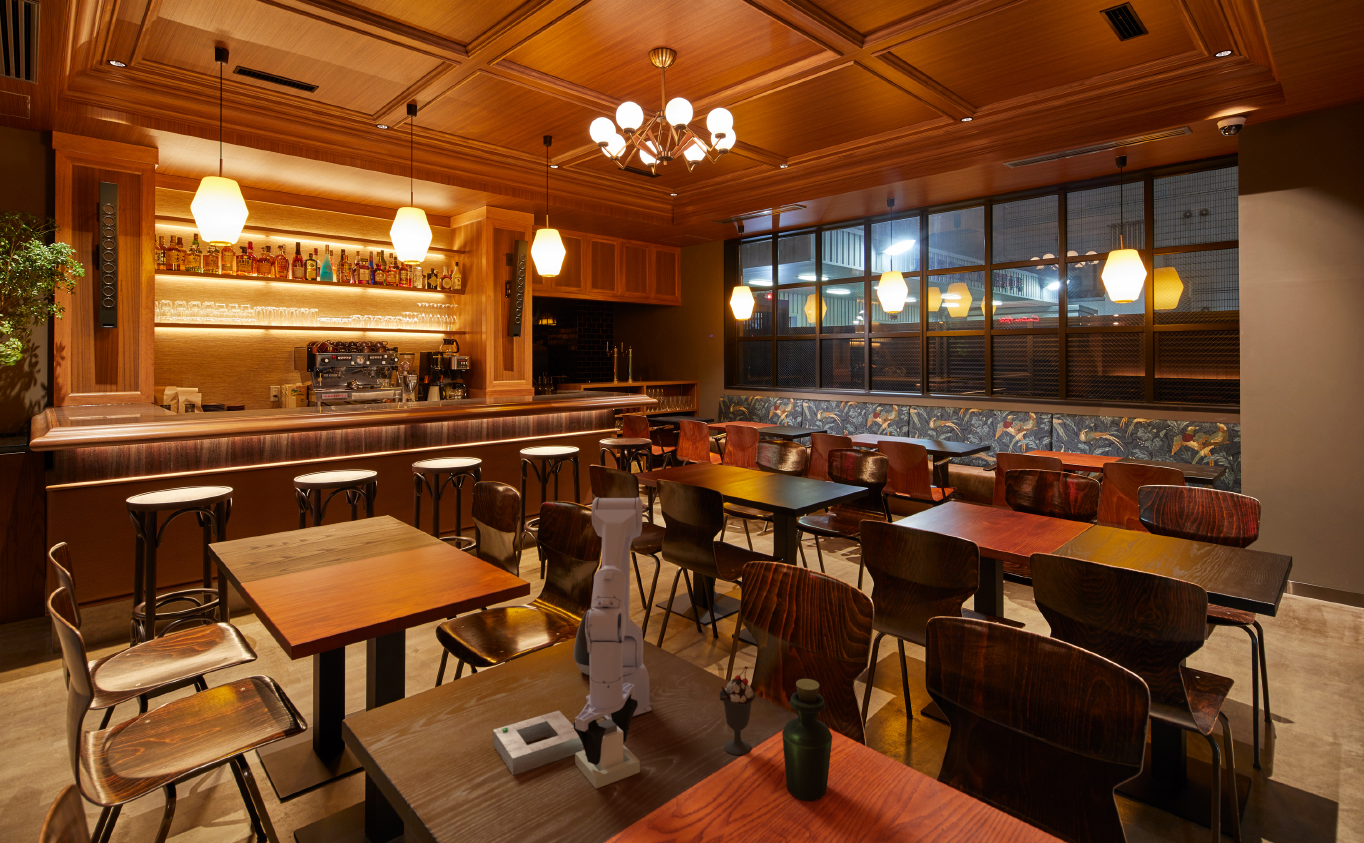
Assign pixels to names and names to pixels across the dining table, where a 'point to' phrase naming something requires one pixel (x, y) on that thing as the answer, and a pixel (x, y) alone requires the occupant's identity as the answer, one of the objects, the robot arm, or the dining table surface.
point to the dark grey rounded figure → (582, 648)
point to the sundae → (737, 712)
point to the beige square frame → (608, 769)
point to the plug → (610, 745)
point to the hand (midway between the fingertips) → (607, 751)
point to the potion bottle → (807, 744)
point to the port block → (537, 754)
